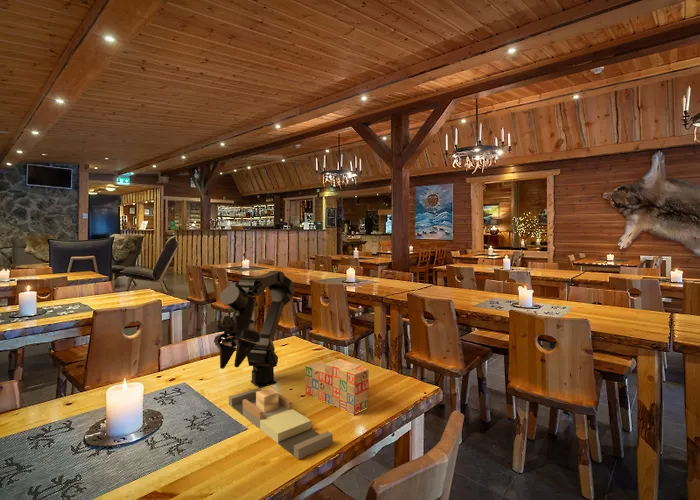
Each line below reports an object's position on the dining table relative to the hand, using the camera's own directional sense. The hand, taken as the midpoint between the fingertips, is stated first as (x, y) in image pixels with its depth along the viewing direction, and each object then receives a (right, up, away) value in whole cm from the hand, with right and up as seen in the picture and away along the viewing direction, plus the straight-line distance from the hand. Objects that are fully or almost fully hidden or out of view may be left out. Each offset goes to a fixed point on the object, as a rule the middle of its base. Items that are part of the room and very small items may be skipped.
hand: (228, 367), depth 114 cm
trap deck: (+14, -13, -6) cm, 20 cm away
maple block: (+12, -11, -2) cm, 16 cm away
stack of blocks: (+30, -13, +8) cm, 34 cm away
